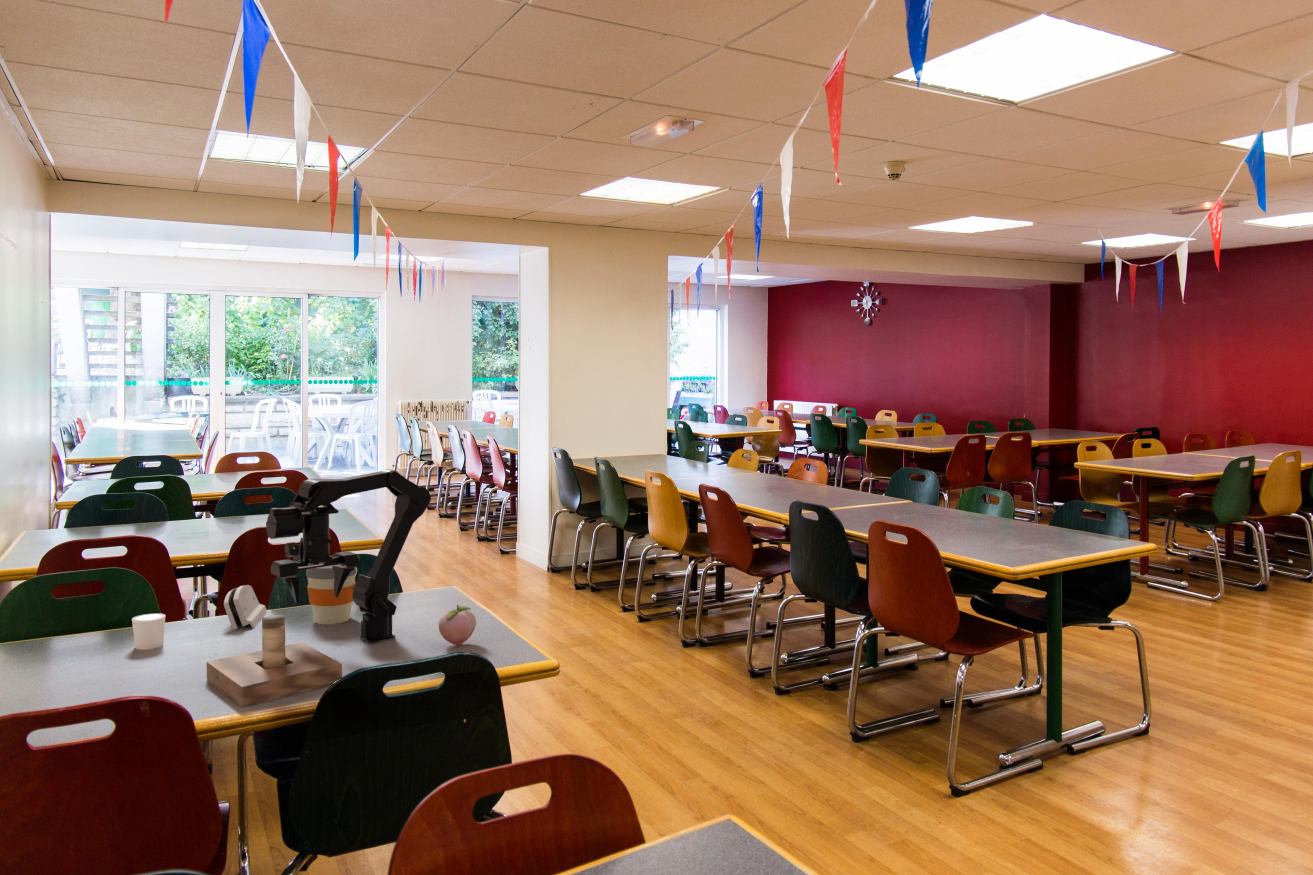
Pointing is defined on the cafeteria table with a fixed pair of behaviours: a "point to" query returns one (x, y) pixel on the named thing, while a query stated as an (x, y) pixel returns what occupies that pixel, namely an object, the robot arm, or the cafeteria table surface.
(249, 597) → the hinge
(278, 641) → the beech pin
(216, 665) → the socket block
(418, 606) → the cafeteria table surface
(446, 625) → the decorative fruit
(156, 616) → the white short cylinder
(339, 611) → the reusable coffee cup
